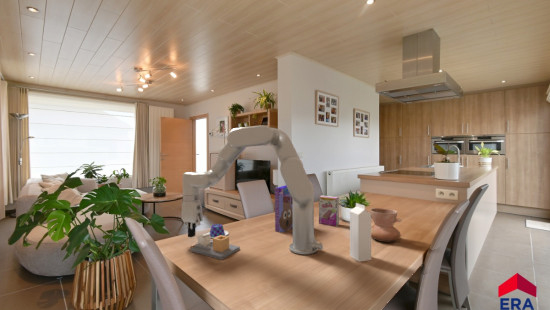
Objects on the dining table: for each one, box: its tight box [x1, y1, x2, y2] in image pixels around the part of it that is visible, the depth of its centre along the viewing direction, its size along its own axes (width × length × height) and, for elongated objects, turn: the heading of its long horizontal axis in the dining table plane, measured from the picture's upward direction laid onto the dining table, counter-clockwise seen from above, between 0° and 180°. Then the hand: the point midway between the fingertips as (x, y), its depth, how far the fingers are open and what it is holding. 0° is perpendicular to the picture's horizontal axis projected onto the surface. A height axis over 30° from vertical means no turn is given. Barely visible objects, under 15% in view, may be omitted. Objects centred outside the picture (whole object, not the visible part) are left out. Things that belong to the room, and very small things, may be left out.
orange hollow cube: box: [212, 235, 230, 252], centre depth 109 cm, size 5×5×5 cm
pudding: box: [205, 223, 230, 239], centre depth 132 cm, size 12×12×5 cm
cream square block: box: [197, 233, 211, 246], centre depth 115 cm, size 4×4×5 cm
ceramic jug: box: [370, 207, 403, 243], centre depth 123 cm, size 18×14×14 cm
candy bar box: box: [318, 195, 340, 227], centre depth 148 cm, size 11×5×16 cm, turn 58°
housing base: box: [190, 239, 241, 260], centre depth 111 cm, size 18×12×5 cm, turn 60°
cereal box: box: [274, 184, 293, 234], centre depth 142 cm, size 17×5×24 cm, turn 148°
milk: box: [349, 202, 372, 263], centre depth 101 cm, size 6×6×22 cm
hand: (191, 236), depth 119 cm, fingers closed
